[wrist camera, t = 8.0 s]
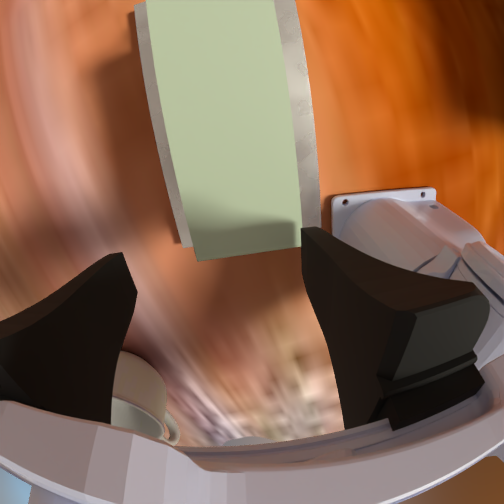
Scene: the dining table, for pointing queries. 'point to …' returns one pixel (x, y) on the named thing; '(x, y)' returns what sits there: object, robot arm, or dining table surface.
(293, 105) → the plate
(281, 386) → the dining table surface
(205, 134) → the pale green rectangular block
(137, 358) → the teacup
